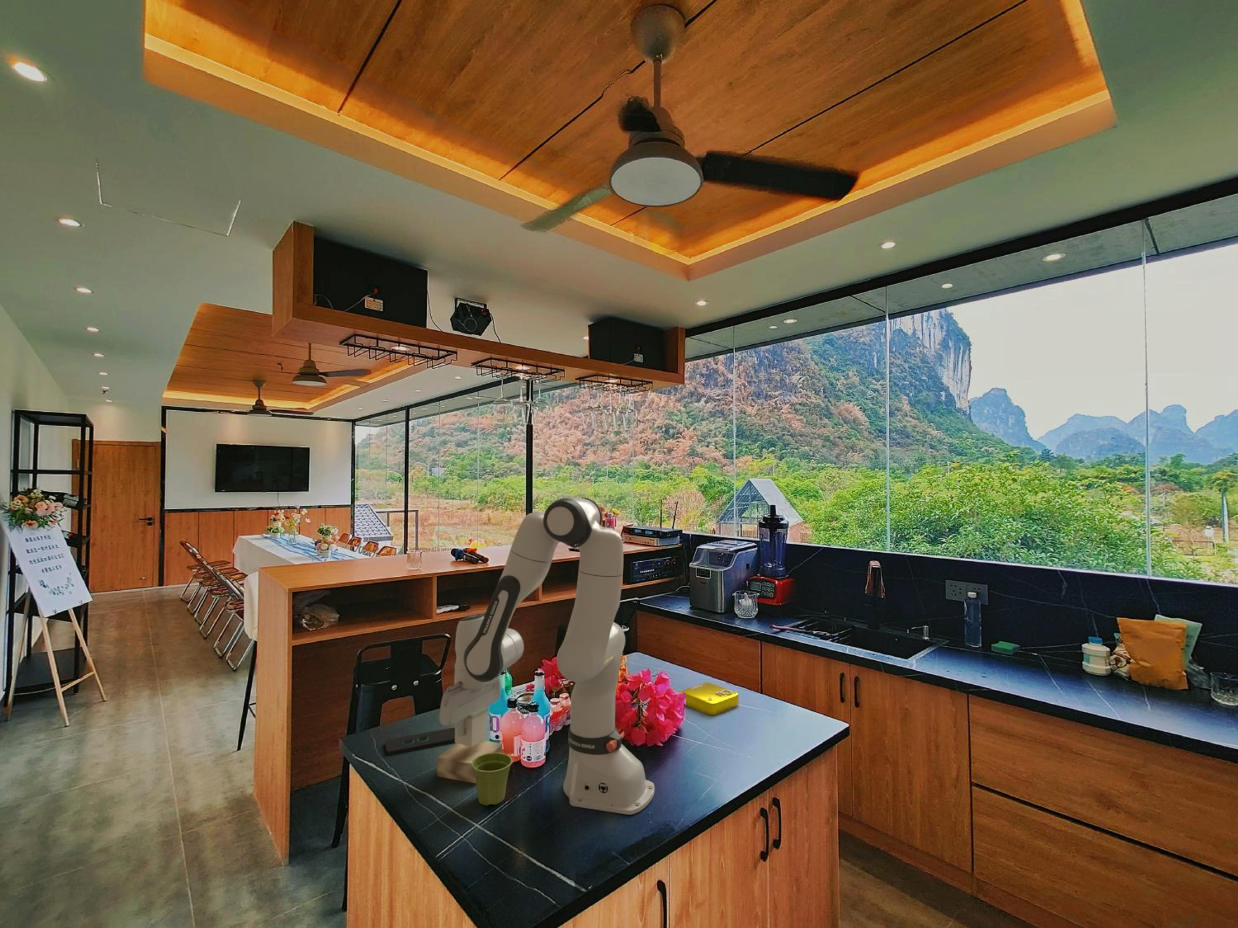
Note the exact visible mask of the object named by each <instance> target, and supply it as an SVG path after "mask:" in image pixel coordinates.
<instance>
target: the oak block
mask: <svg viewBox="0 0 1238 928" xmlns="http://www.w3.org/2000/svg"><path fill="white" fill-rule="evenodd" d="M502 744H503V743H500V742H494V741H488V740H482V741H481V742H479V743H478V744H476V745H474V746H473V747H469V746H466V745H462V744H458V743H454V744H453V745H452V746H451V747H449V748H448V749H447V750H445V751H444V752H443V753H442V754H440V755H438V757H437V762H436V763H437V764H436V765H437V766H436V767H437V768H436V771H437V772H436V777H440V778H444V779H451V780H456V781H461V782H465V783H472V784H476V777H475V773H474V769H473V768H472V761H473V760H474V759H475V758H476V757H478V756H480V755H483V754H487V753H502Z"/></svg>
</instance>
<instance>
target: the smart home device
mask: <svg viewBox="0 0 1238 928" xmlns="http://www.w3.org/2000/svg"><path fill="white" fill-rule="evenodd" d="M384 743H385V744H384V745H385V752H386V756H395V755H399V754H403V753H404V754H405V753H409V752H414V751H415V752H416V751H419V750H426V749H430V748H435V747H440V746H444V745H445V746H446V745H451V744H456V743H455V726H454V727H449V728H444V729H437V730H433V731H428V732H421V733H416V734H411V735H404V736H401V737H395V738H389V739H386V740H384Z"/></svg>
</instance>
